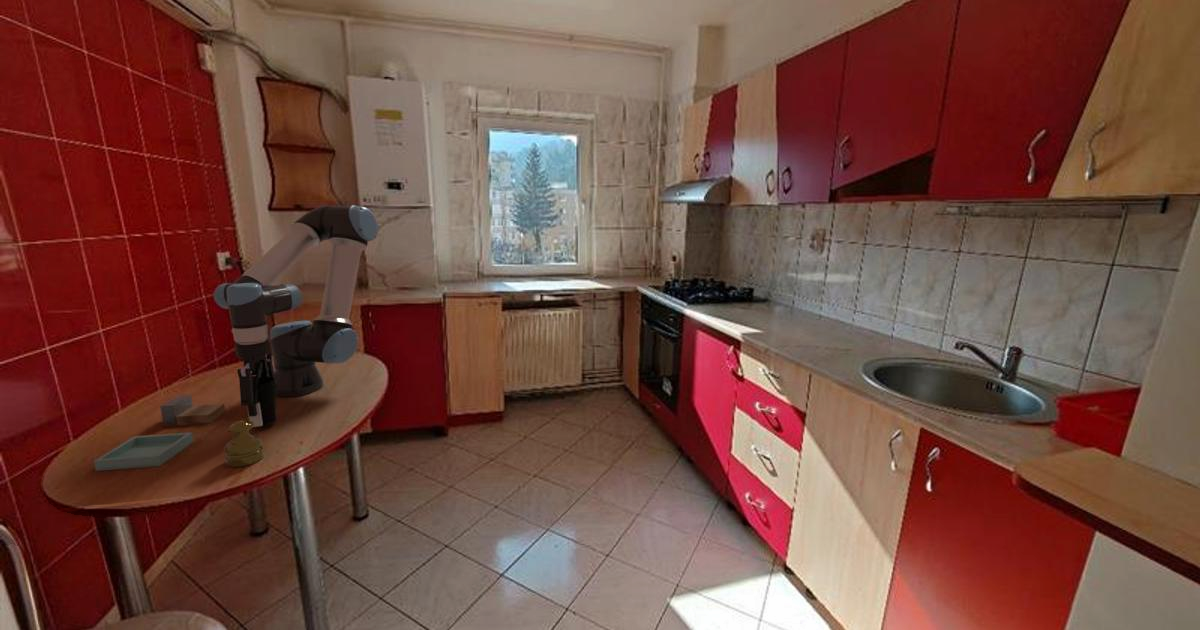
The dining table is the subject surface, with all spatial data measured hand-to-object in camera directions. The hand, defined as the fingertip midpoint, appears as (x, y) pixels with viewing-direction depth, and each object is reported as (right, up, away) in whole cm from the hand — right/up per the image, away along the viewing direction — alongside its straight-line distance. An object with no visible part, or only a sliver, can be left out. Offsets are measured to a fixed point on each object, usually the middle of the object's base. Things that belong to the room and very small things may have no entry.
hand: (263, 419), depth 130 cm
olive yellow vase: (+8, -6, -17) cm, 20 cm away
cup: (0, -1, 0) cm, 1 cm away
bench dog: (-27, -1, +4) cm, 28 cm away
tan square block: (-22, -1, +5) cm, 23 cm away
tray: (-17, -5, -16) cm, 24 cm away
